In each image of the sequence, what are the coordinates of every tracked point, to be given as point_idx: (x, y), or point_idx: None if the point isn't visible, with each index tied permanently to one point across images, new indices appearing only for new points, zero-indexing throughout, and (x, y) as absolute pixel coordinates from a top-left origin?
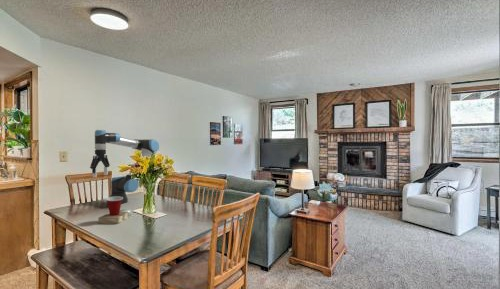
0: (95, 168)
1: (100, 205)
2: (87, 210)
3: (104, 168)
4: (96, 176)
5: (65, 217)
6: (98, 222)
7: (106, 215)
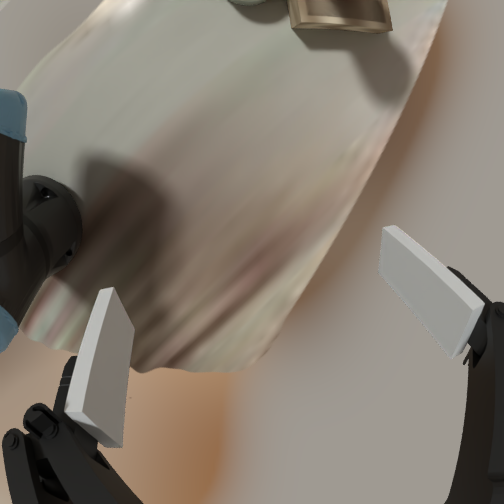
0: (493, 308)
1: (106, 276)
2: (203, 253)
3: (118, 418)
4: (389, 232)
5: (324, 240)
6: (380, 32)
7: (360, 11)
